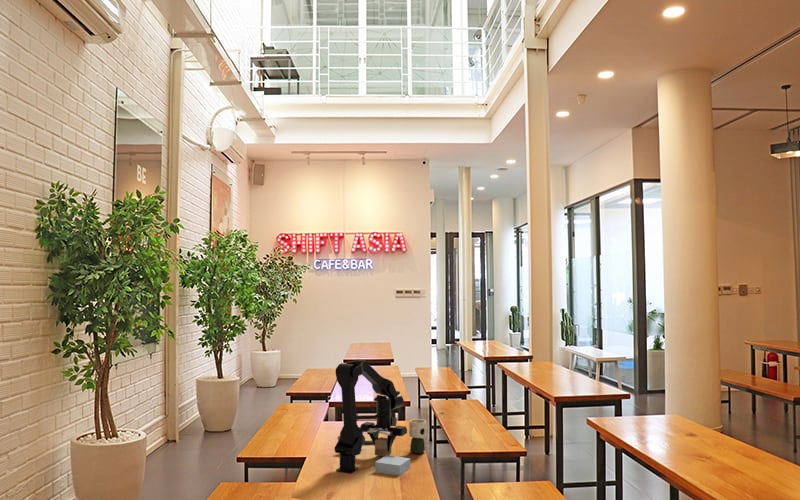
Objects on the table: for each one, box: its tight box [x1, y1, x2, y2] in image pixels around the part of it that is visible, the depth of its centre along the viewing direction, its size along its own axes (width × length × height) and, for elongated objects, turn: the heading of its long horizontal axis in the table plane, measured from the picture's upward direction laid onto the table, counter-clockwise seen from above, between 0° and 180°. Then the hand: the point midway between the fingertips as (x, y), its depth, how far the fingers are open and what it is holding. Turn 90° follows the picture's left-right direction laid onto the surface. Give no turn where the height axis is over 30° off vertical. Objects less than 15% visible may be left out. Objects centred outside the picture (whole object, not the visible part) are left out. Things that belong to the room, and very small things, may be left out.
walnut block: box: [374, 436, 392, 457], centre depth 251 cm, size 5×5×6 cm
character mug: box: [408, 418, 427, 454], centre depth 257 cm, size 11×7×13 cm, turn 155°
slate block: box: [374, 455, 411, 476], centre depth 233 cm, size 10×10×4 cm
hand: (383, 450), depth 250 cm, fingers closed on walnut block, 5 cm apart
